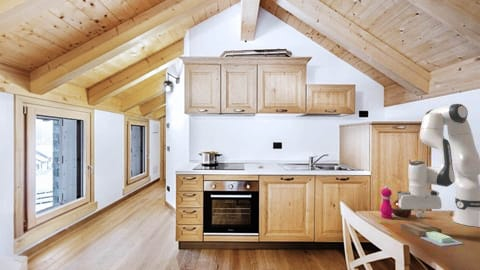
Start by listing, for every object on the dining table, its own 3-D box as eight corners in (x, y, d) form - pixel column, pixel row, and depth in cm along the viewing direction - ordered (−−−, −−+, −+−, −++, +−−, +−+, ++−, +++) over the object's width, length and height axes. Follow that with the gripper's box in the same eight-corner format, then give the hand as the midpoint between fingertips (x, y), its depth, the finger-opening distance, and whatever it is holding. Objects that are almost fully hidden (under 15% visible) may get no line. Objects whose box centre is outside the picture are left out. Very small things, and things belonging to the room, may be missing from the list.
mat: (441, 235, 141) (441, 234, 141) (463, 244, 129) (463, 243, 129) (420, 237, 138) (420, 237, 138) (441, 246, 127) (441, 245, 127)
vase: (403, 219, 169) (403, 194, 169) (387, 214, 179) (387, 191, 179) (415, 217, 173) (415, 192, 173) (399, 212, 183) (399, 189, 183)
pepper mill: (386, 219, 168) (386, 187, 168) (377, 216, 175) (377, 185, 175) (395, 218, 170) (395, 186, 170) (386, 215, 177) (386, 184, 177)
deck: (421, 227, 153) (421, 222, 153) (441, 235, 141) (441, 229, 141) (400, 229, 150) (400, 224, 150) (419, 237, 138) (419, 231, 138)
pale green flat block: (435, 235, 140) (434, 231, 140) (452, 241, 132) (451, 237, 132) (425, 236, 139) (425, 232, 139) (441, 242, 130) (441, 238, 130)
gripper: (400, 192, 146) (401, 218, 145) (442, 192, 142) (444, 218, 142) (395, 190, 152) (397, 215, 152) (435, 190, 149) (437, 215, 148)
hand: (420, 217), depth 147 cm, fingers closed
